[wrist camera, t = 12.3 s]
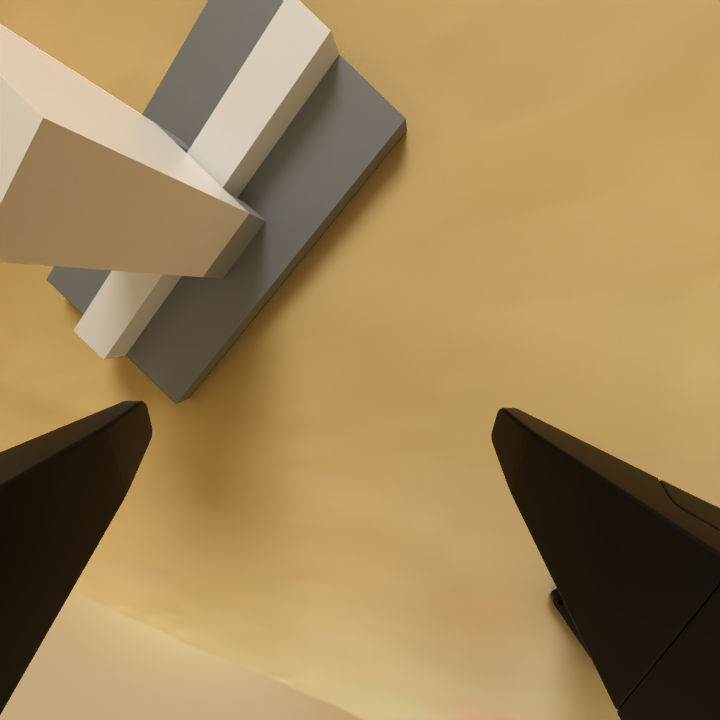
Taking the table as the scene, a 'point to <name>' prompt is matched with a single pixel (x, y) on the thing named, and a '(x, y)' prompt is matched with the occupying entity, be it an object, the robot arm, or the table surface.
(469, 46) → the table surface
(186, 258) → the block
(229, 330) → the mounting board
